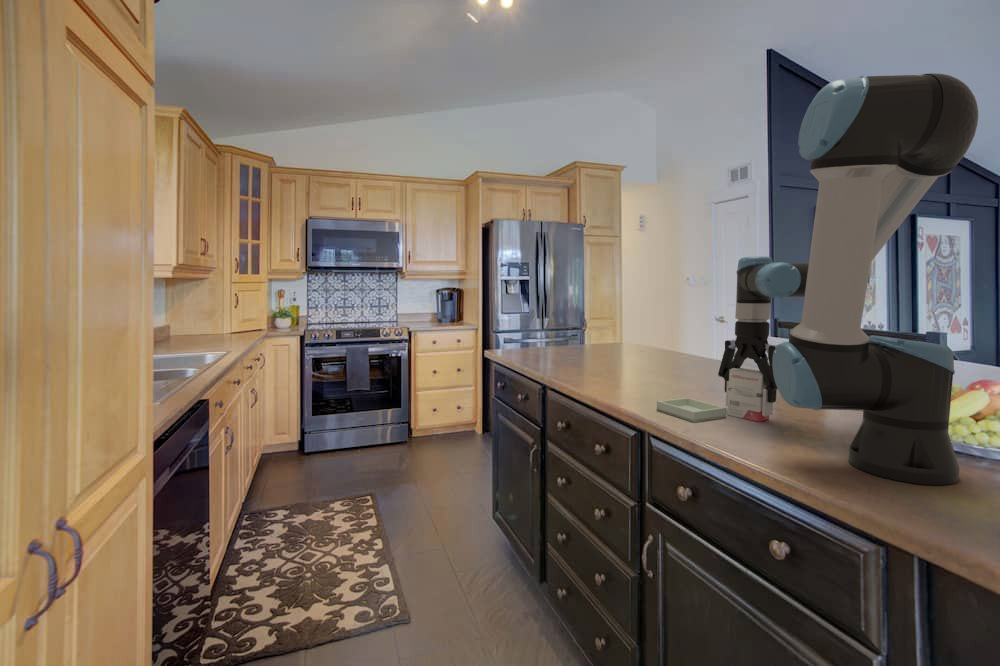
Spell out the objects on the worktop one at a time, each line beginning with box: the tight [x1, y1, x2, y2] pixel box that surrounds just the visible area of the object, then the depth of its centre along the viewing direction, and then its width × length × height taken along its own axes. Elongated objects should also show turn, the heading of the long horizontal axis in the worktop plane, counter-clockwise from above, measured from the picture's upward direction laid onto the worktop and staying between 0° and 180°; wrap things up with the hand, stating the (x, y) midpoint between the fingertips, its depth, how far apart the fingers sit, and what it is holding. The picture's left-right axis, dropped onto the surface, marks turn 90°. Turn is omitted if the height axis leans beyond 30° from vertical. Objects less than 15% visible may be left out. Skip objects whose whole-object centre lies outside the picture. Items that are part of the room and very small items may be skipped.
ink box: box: [726, 367, 770, 423], centre depth 122 cm, size 9×5×12 cm, turn 34°
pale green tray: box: [656, 397, 727, 423], centre depth 125 cm, size 13×11×2 cm
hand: (748, 410), depth 122 cm, fingers open, 10 cm apart
